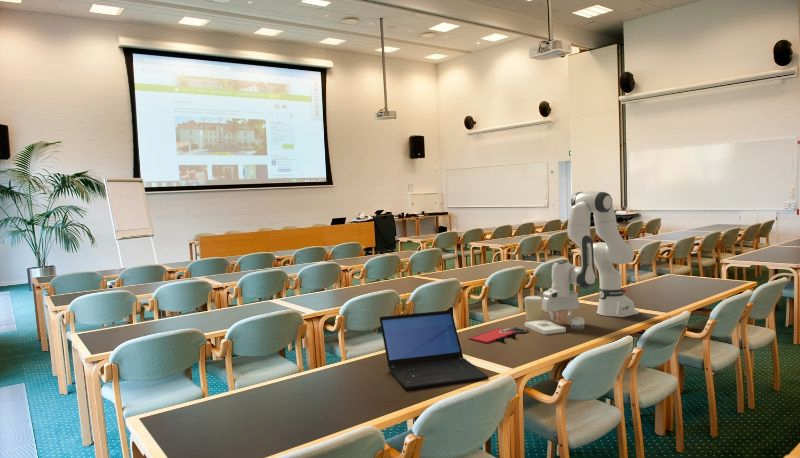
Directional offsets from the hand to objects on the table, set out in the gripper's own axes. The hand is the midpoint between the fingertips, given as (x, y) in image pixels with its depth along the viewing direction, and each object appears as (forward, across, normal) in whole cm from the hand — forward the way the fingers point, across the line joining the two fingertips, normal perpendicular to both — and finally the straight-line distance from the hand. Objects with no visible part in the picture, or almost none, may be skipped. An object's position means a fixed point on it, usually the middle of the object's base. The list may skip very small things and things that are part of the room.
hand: (560, 318), depth 282 cm
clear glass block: (+3, -2, +11) cm, 11 cm away
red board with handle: (+3, +38, +6) cm, 39 cm away
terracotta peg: (+3, 0, 0) cm, 3 cm away
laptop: (+3, +87, +37) cm, 95 cm away
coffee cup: (+3, +8, -13) cm, 16 cm away
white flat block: (+3, +13, +5) cm, 14 cm away
